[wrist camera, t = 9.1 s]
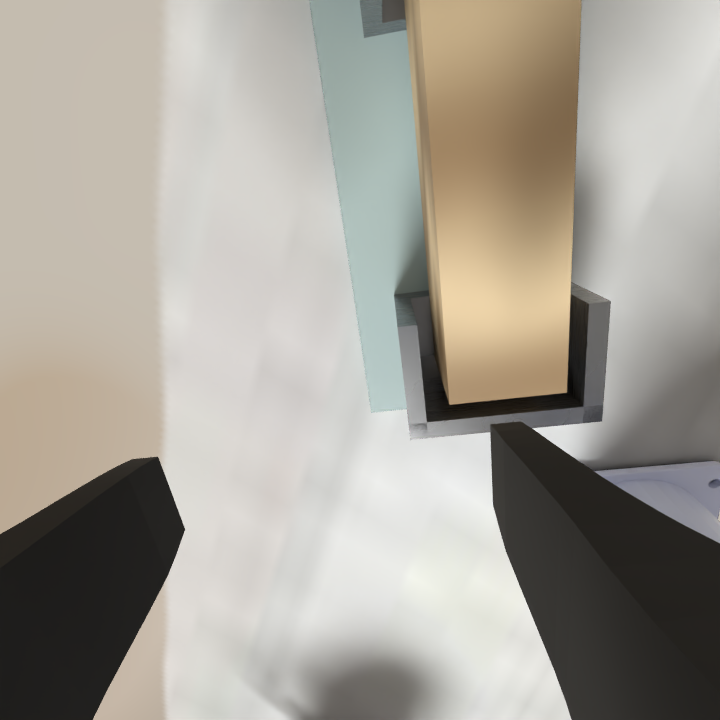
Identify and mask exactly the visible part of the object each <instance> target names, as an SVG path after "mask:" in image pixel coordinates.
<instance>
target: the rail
mask: <svg viewBox="0 0 720 720" xmlns="http://www.w3.org/2000/svg"><path fill="white" fill-rule="evenodd" d="M404 4H405V16H406V27H407V39H408V51H409V63H410V74H411V86H412V98H413V109H414V121H415V133H416V145H417V156H418V168H419V180H420V191H421V203H422V215H423V226H424V238H425V250H426V262H427V273H428V285H429V297H430V308H431V320H432V332H433V344H434V355H435V360H436V363H437V367H438V370H439V373H440V376H441V379H442V382H443V386H444V389H445V392H446V395H447V398H448V401H449V405H452V404H462V403H471V402H481V401H491V400H501V399H510V398H520V397H530V396H539V395H549V394H559V393H567V376H568V349H569V322H570V295H571V268H572V241H573V214H574V187H575V160H576V133H577V106H578V79H579V53H580V26H581V0H404Z"/></svg>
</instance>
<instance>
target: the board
mask: <svg viewBox="0 0 720 720" xmlns="http://www.w3.org/2000/svg"><path fill="white" fill-rule="evenodd" d="M309 2H310V9H311V16H312V22H313V29H314V36H315V42H316V49H317V55H318V62H319V69H320V75H321V82H322V89H323V95H324V102H325V108H326V115H327V122H328V128H329V135H330V142H331V148H332V155H333V161H334V168H335V175H336V181H337V188H338V195H339V201H340V208H341V214H342V221H343V228H344V234H345V241H346V248H347V254H348V261H349V267H350V274H351V281H352V287H353V294H354V301H355V307H356V314H357V321H358V327H359V334H360V340H361V347H362V354H363V360H364V367H365V374H366V380H367V387H368V393H369V400H370V407H371V413H373V412H382V411H392V410H402V409H407V405H406V397H405V388H404V379H403V371H402V362H401V354H400V345H399V336H398V328H397V319H396V310H395V301H394V295H395V294H403V293H410V292H418V291H426V290H429V285H428V273H427V262H426V250H425V238H424V226H423V215H422V203H421V191H420V180H419V168H418V156H417V145H416V133H415V121H414V109H413V98H412V86H411V74H410V63H409V51H408V39H407V30H403V31H398V32H393V33H388V34H383V35H377V36H372V37H367V38H364V34H363V25H362V17H361V8H360V0H309Z"/></svg>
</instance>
